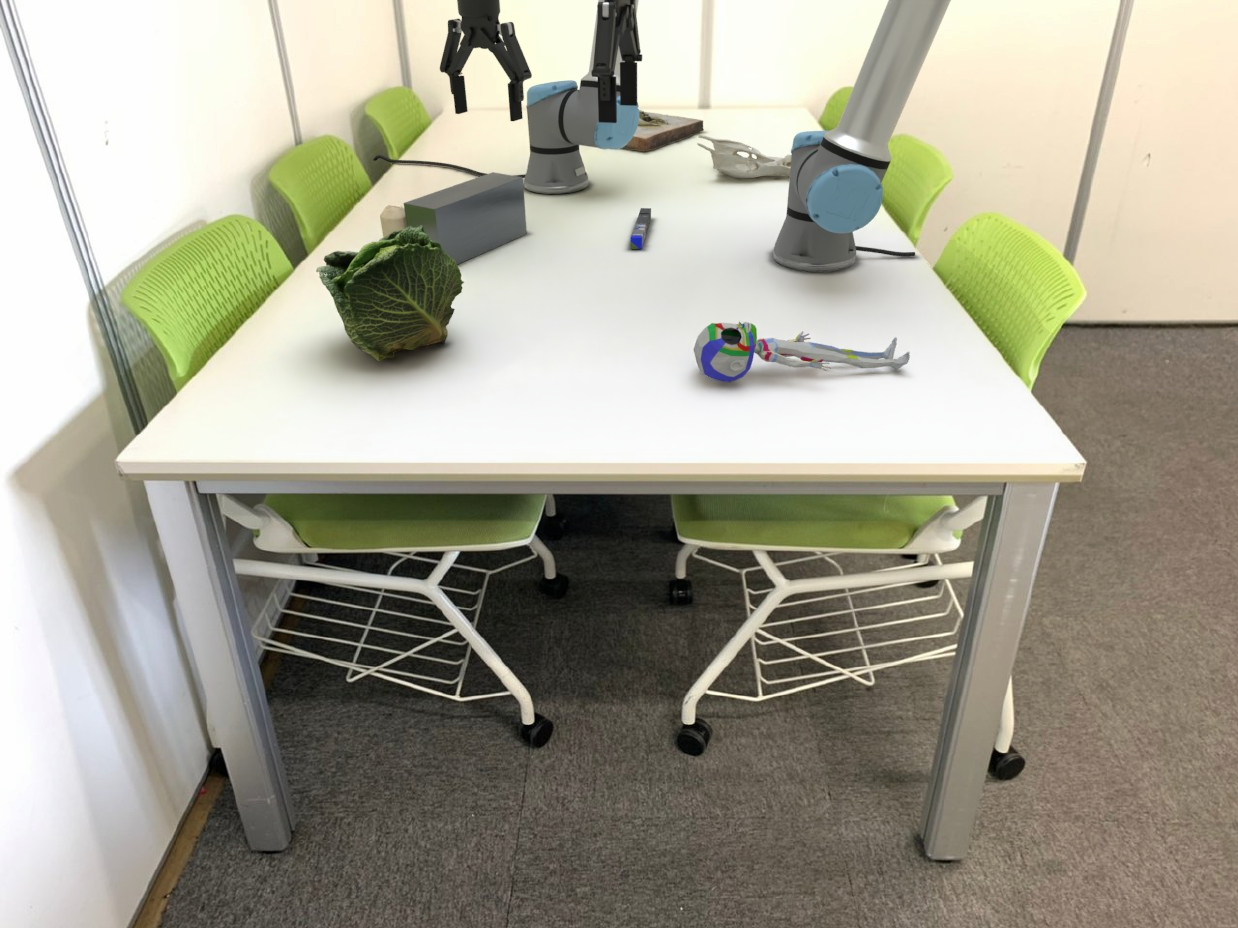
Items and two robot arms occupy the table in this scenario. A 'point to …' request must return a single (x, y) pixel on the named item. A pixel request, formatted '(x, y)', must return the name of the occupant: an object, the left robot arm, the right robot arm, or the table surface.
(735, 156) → the anatomical model
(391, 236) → the vegetable
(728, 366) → the toy
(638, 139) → the plaque
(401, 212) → the candle
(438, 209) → the box
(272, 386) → the table surface
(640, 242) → the pillar
